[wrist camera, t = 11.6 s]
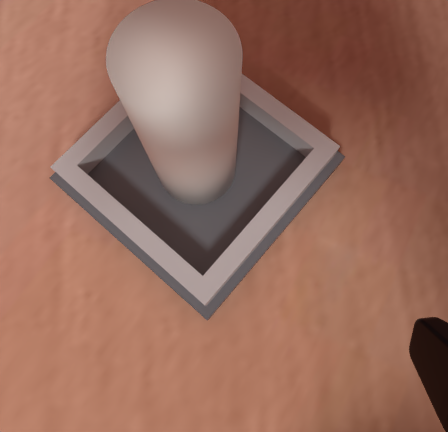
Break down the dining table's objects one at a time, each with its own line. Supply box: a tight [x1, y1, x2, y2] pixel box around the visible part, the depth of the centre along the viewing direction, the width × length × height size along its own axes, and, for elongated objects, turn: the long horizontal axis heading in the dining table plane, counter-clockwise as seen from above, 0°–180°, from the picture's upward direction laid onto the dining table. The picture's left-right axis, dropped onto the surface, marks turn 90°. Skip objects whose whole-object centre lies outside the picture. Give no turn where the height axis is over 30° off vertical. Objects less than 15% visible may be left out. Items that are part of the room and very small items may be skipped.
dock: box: [50, 74, 345, 320], centre depth 22 cm, size 12×12×2 cm
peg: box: [106, 0, 243, 205], centre depth 17 cm, size 4×4×10 cm
